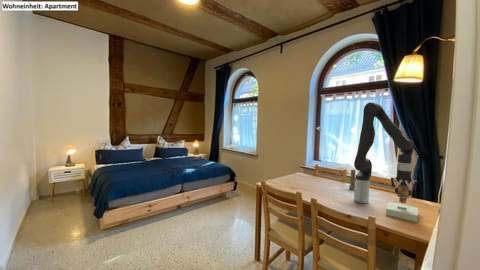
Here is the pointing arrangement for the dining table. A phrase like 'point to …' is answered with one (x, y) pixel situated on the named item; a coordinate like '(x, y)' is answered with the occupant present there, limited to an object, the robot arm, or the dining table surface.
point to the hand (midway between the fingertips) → (403, 194)
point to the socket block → (402, 211)
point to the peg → (403, 193)
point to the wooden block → (352, 180)
